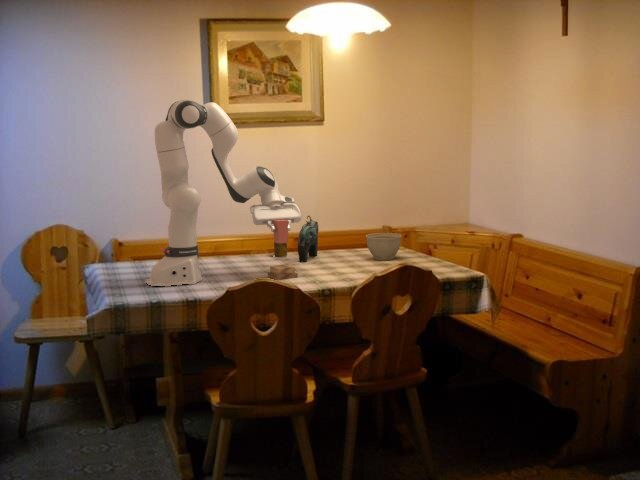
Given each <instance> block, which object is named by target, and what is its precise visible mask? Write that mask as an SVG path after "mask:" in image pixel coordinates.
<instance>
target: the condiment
mask: <svg viewBox="0 0 640 480" xmlns="http://www.w3.org/2000/svg"><path fill="white" fill-rule="evenodd" d="M272 255H275V257H273V256H272ZM272 255H268V257H270V258H274V259H278V258H288V257H290V255H288V244H287V243H275V242H274V241H273V254H272Z"/></svg>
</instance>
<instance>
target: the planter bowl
mask: <svg viewBox="0 0 640 480" xmlns="http://www.w3.org/2000/svg"><path fill="white" fill-rule="evenodd" d="M365 239H366V244H367V245H366V246H367V249H368V250H369V253H370V254H371V255H372V257H373V259H374V260H376V261H391V260H394V259H395V258H396V257H395V256H396V255H397V254H398V252H399V250H400V247H401V244H402V242H401V241H402V234H400V233H395V232H394V233H393V232H378V233H377V232H376V233H369V234H366V235H365Z"/></svg>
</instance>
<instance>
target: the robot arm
mask: <svg viewBox="0 0 640 480" xmlns="http://www.w3.org/2000/svg"><path fill="white" fill-rule="evenodd" d="M166 114H167V115H166V117H165V120H164V121H160V122H159V123H157V124H156V125H155V128H154V144H155V151H156V155H157V159H158V164H159V169H160V178H161V179H160V181H161V183H160V184H161V198H162V201H163V203H164V205H165V206H166V207H167V208H168V209H170V217H169V223H168V226H167V232H168V233H167V234H168V236H167V237H168V247H166V248H165V247H163V246H162V247H161V248H160V252H161V253H162V254H164V257H162V258H161V259H160V260H159V261H158V262H157V263H155V264H154V265H153V266H152V267H151V271H150V278H148V279H145V281H144V284H146V283H147V284H148V285H147V284H146V285H147V286H149V285H151V286H150V287H152V286H165V287H172V286H171V285H177V286H183V285H182V284H189V285H195V284H196V283H198V282H201V281H203V277H202V274H201V273H202V272H201V270H200V265H199V255H200V254H199V253H200V252H199V245H198V243H197V242H198V240H197V222H198V221H197V220H198V214H199V206H200V205H201V195H200V193H199V191H198V190H197V188H194V186H192V185H190V184H189V169H190V168H189V167H190V166H189V162H188V161H189V160H188V155H187V151H186V147H185V142H184V132H185V131H186V130H187V129H189V130H190V129H194V128H197V127H201V128H202V129H203V130H204V131H205V133H206V134H207V135H208V137H209V138H210V141H211V143H212V148H211V156H212V159H213V161H214V164H215V165H216V168H217V170H218V172H219V173H220V175H221V178H222V179H223V181H224V183H225V186H226V188H227V191H228V193H229V195H230V198H231V199H232V200H233V201H234V202H236V203H238V204H245V203H246V202H248V201H249V200H250V199H251V198H253V197H254V196H256V195H259V197H260V203H261V204H253V205H252V206H250V207H249V212H250V213H251V214H252V216H251V217H252V223H253V224H254V226H264V225H265V226H267V227H268V228H269V229H270V232H271V233H274V232H275V231H276V228H275V226H273V220H288V232H289V231H291V224H295V223H300V222H301V219H302V213H301V210H300V208H299V206H298V204H296V203H295V202H296V200H295V198H293V197H288V196H286V195H282V194H281V192H280V187H279V184H278V181H277V179H276V178H275V175H274V174H273V173H272V171H270V170H269V169H268V168H266V167H263V166H256V167H254V168H252V169H250V170H249V171H247V172H246V173H245V174H243V175H241V176H240V177H235V174H234V173H233V171H232V168H231V167H230V165H229V163H228V160H227V159H228V156H229V153H231V151H232V150H233V148H234V147H235V145H236V143H237V141H238V138H239V130H238V129H237V127H236V125H235V124H234V122H233V120H232V119H231V118H230V116H229V115H228V114H227V113H226V112H225V111H224V109H223V108H222V107H221V106H220V105H218V103H216V102H213V101H212V102H206V103H205V104H203V105H202V104H200V103H197V102H196V101H193V100H188V99H181V100H177V101H175V102H174V103H172V104H171V105H170V106H169V108H168V110H167V113H166Z"/></svg>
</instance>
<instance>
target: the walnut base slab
mask: <svg viewBox="0 0 640 480" xmlns="http://www.w3.org/2000/svg"><path fill="white" fill-rule="evenodd" d="M298 276H299V273H298V272H296V271H295V273H291V274H283V275H277V274H274V273H271V272H270V271H268V272H267V277H269V278H272V279H274V280H277V281H282V280H289V279H296V278H299V277H298Z"/></svg>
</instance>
